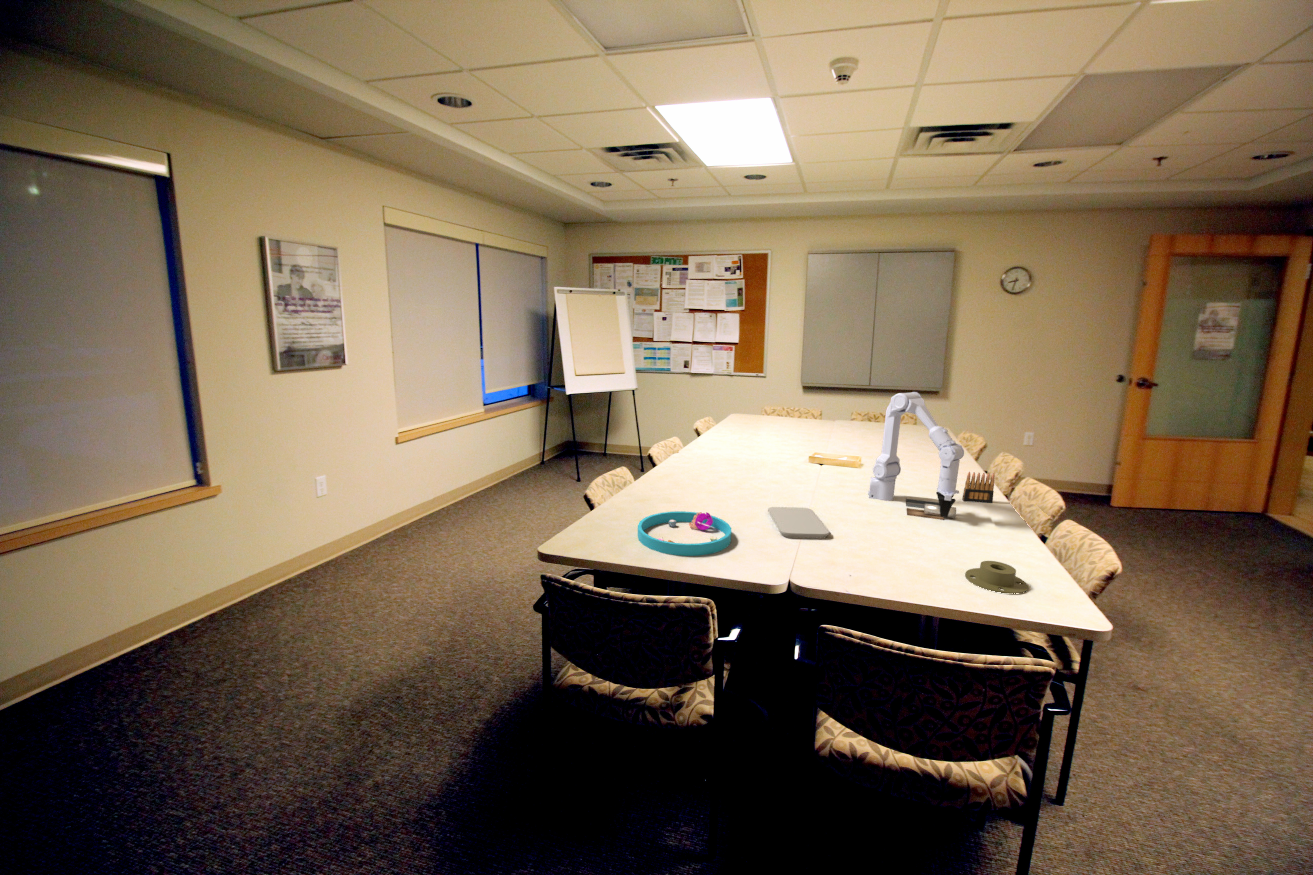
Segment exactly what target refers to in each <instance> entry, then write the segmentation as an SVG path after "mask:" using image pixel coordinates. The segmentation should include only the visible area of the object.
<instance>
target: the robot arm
mask: <svg viewBox="0 0 1313 875" xmlns="http://www.w3.org/2000/svg"><path fill="white" fill-rule="evenodd" d="M925 402H926V401H925V399H924V398H922V396H921V394H920V393H919V392H918V391H912V392H899V393H896V394H894V395H893V396H891V397H890V402H889V404H888V405H887V408H886V410H885V418H884V427H883V436H882V444H881V453H880V455H879V456H878V457H877V458H876V459H875V463H874V465H873V467H872V473H873V476H870V482H869V490H868V491H867V495H868V499H873V500H879V501H886V502H887V501H888V502H890V501H891V502H892V501H894V497H895V489H896V488H895V486H896V480H897V479H898V478H897V477H898V476H899V475H900V473H901V470H902V469H901V465H900V461H901V460H900V458H899V457H898V456H897V453H898V444H899V437H900V436H899V435H900V428H901V426H900V425H901V420H902V416H903V415H905V414H906V413H910V414H912V415H916V417H917V418H918V419H919V420H920V421H921V423H922V424H923V425H924V427H925V428H926V429H927V430H928V437H929V439H930V440H931V441H932V443H933V444H934V446H935V447H936V448H937V450H938V457H939V459H940V468H939V476H938V477H939V478H938V485H937V488H936V495H937V500H938V501H937V502H939V505H940V515H941V516H944V518H946V517H947V516H948V514H949V511H950V508H951V507H953V505H954V504H955V503H956V499H955V498H954V496H955V495H957V494H960V490H958V489H957V482H958V475H959V466H960V460H961V459H962V458H963V457H964V456H965V450H964V448H963V445H961V444H959V443H956V441H955V440H953V438H952V437H951V436H950V434H949V433H948V432H949V431H948V429H947V428H945V427H943V426H939V425H938V423H937V421H936V420H935V418H934V417H933V416H932V414H931V412H930V411H929V409H928V407H927V406H926V403H925Z"/></svg>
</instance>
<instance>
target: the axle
mask: <svg viewBox="0 0 1313 875" xmlns="http://www.w3.org/2000/svg"><path fill="white" fill-rule="evenodd" d="M923 510H924V515H931V516H938V517H944V516H941V515H940V505H932V504H925V507H924V508H923ZM956 516H957V507H954V506H951V508H950V511H949V514H948V516H947V517H944V518H946V519H956Z"/></svg>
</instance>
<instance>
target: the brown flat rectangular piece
mask: <svg viewBox="0 0 1313 875" xmlns="http://www.w3.org/2000/svg"><path fill="white" fill-rule="evenodd" d="M905 510H906V516H910V517H911V516H912V517H918V518H924V519H926V518H927V519H932V520H941V521H945V520H944V519H945V517H938V516H931V515H924V509H919V508H918V509H917V508H912V507H906V509H905Z"/></svg>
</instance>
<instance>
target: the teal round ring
mask: <svg viewBox="0 0 1313 875" xmlns="http://www.w3.org/2000/svg"><path fill="white" fill-rule="evenodd" d="M667 523H668V526H669V527H671V528H674V527H676V525H677V523H688V526H689V528H690V529H691V530H695V531H697V530H698V531H699V530H701V531H706V530H708V529H710V528H711V527H712V528H713V529H716V530H718V531H720V532H721V533H722V534H724V536H722V537H719V538H717V536H714V535H713V536H709V538H708V539H709V540H710V541H706V542H705V541H704V542H701V543H700V542H699V543H697V542H696V543H683V542H675V541H673V540H671V539H668V540H667V541H666V540H665V539H664V537H662V538H656V537H653V536H652V535H650V534H647V533H646V532H645V531H646V530H647V529H649V528H651V527H653V526H657V525H660V524H667ZM659 536H660V534H659ZM637 539H638V541H639V543H641V544H642V546H644V547H645V548H647V549H650V550H652V551H655V552H658V553H659V554H660V553H662V554H666V555H670V556H671V555H672V556H680V557H681V556H683V557H692V556H693V557H694V556H695V557H699V556H706V555H712V554H715V553H718V552H721V551H723V550H726V548H728V547H729V545H730V544H731V543H732V542H731V540H732V527H731V525H730V524H729V523H728V522H726V521H725V520H723V519H722V518H718V517H717V516H714V515H711V514H710V513H709V512H702V511H699V512H696V511H682V510H681V511H676V510H675V511H665V512H658V513H654V514H650V515H648V516H645V517H643V518H642V519H641V520H639V523H638V524H637Z"/></svg>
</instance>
